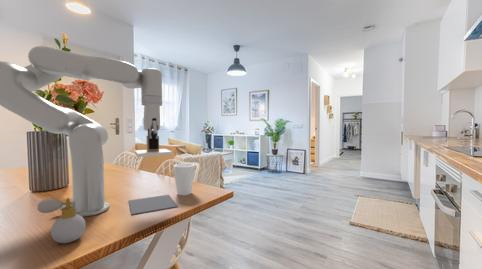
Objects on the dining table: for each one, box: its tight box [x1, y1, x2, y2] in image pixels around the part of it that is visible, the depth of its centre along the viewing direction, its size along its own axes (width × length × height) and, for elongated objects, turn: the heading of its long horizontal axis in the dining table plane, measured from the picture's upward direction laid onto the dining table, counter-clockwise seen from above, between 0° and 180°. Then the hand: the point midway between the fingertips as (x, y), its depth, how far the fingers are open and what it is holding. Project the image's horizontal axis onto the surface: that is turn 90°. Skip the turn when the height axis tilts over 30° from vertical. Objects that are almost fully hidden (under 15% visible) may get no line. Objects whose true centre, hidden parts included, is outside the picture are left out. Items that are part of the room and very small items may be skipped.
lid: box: [134, 135, 173, 158], centre depth 88 cm, size 12×12×7 cm
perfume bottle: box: [37, 197, 86, 244], centre depth 60 cm, size 8×10×12 cm
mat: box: [128, 194, 179, 216], centre depth 89 cm, size 16×16×1 cm
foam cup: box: [173, 163, 196, 196], centre depth 103 cm, size 10×9×13 cm
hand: (152, 147), depth 89 cm, fingers closed on lid, 4 cm apart
